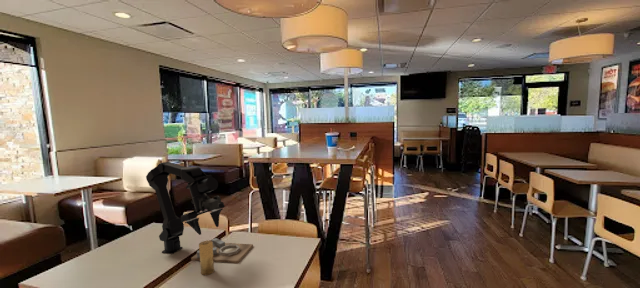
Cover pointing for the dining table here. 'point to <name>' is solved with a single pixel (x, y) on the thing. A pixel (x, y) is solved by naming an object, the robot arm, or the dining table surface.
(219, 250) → the shaft board
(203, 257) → the brass sleeve
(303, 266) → the dining table surface
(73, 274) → the dining table surface
